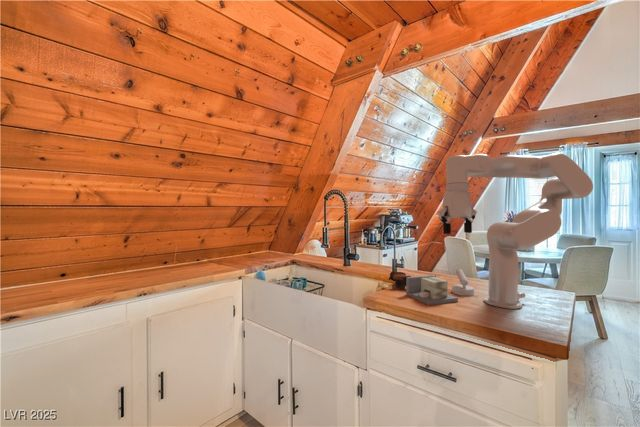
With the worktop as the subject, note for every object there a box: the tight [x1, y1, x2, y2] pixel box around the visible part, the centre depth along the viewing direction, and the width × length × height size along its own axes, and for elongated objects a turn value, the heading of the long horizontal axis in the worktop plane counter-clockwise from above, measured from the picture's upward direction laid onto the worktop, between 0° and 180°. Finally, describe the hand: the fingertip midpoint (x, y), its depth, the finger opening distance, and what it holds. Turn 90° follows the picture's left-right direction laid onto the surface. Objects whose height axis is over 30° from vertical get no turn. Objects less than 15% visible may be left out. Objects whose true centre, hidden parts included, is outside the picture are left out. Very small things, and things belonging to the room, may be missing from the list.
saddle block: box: [421, 276, 448, 299], centre depth 117 cm, size 6×8×6 cm
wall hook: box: [451, 268, 475, 297], centre depth 128 cm, size 9×10×10 cm
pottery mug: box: [387, 271, 412, 290], centre depth 135 cm, size 12×10×8 cm
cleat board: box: [405, 274, 459, 306], centre depth 119 cm, size 14×14×8 cm
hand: (457, 233), depth 111 cm, fingers open, 9 cm apart
